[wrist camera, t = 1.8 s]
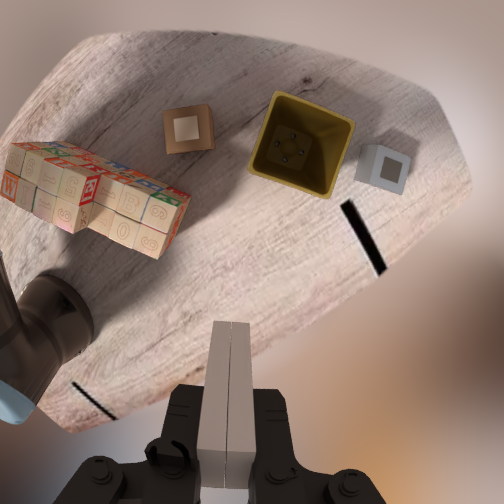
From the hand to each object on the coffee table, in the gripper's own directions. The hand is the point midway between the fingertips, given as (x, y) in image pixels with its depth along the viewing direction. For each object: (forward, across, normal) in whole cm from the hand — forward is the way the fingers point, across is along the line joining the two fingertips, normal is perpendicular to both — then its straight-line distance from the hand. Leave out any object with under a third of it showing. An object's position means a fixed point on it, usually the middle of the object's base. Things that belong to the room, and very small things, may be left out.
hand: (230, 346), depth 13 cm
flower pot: (+27, +6, +10) cm, 29 cm away
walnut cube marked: (+26, -6, +11) cm, 29 cm away
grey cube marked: (+27, +18, +9) cm, 33 cm away
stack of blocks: (+27, -17, +4) cm, 32 cm away
